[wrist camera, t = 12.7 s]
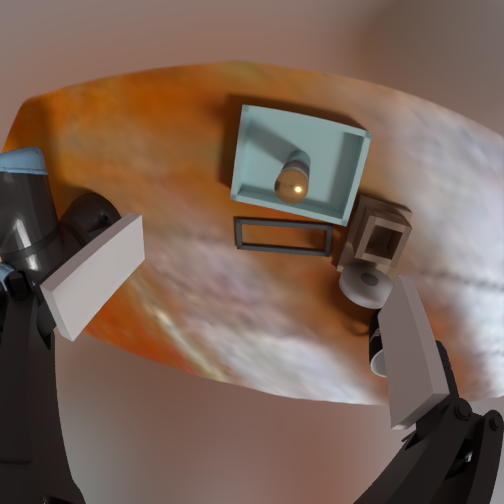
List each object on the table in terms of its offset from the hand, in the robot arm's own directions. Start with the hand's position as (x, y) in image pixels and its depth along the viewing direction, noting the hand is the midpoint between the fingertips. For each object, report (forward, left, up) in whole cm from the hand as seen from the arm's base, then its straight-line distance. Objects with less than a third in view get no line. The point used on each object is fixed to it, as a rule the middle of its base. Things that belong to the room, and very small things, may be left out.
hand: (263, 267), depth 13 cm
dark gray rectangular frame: (0, -11, -25) cm, 28 cm away
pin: (0, 0, -25) cm, 25 cm away
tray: (0, 0, -25) cm, 25 cm away
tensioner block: (+13, -8, -25) cm, 30 cm away
